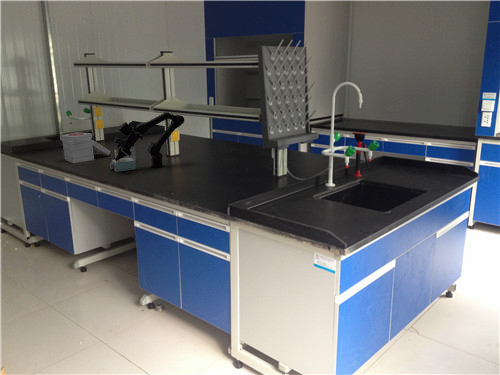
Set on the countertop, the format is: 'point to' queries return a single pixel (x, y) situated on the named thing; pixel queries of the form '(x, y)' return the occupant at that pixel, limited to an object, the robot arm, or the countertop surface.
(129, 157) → the supplement box
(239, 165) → the countertop surface
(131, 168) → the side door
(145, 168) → the countertop surface
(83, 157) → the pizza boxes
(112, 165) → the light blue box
